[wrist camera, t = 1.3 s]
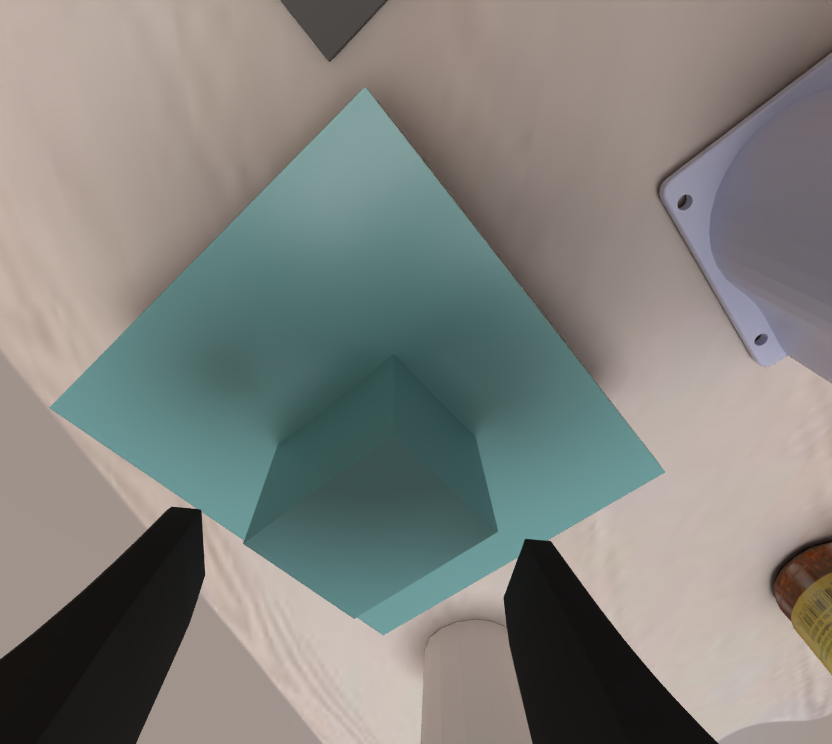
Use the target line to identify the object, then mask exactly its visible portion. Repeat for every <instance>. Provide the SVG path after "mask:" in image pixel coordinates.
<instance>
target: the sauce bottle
mask: <svg viewBox="0 0 832 744" xmlns="http://www.w3.org/2000/svg"><path fill="white" fill-rule="evenodd" d="M773 587H774V596H775V598H776V601H777V603H778V606H779V607H780V609H781V610H782V612H783V613H784V614H785V615H786V616H787V617H788V618H789V620H790V621H791V622H792V624H793V627H794V629H795V630H796V632H797V633H798V634H799V635H800V637H801V638H802V639H803V640H804V641H805V643H806V644H807V645H808V646H809V647H810V649H811V650H812V651H813V652H814V654H815V655H816V656H817V657H818V659H819V660H820V661H821V662H822V663H823V665H824V666H825V667H826V668H827V670H828V671H829V672H830V673H831V674H832V542H830V543H827V544H821V545H817V546H814V547H811V548H809V549H807V550H806V551H804V552H802V553H801V554H799V555H797V556H795V557H794V559H793V560H791V561H790V562H789V563H788V564H786V565H785V566H784V567H783V568H782V570H781V571H780V573H779V575H778V576H777V578H776V581H775V583H774V585H773Z"/></svg>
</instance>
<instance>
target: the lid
mask: <svg viewBox="0 0 832 744" xmlns="http://www.w3.org/2000/svg"><path fill="white" fill-rule="evenodd" d="M50 409H52V410H53V411H54V412H56V413H57V414H59V415H60V416H62V417H63V418H65V419H66V420H68V421H69V422H71V423H72V424H74V425H75V426H77V427H78V428H79V429H81V430H82V431H84V432H85V433H87V434H88V435H90V436H91V437H93V438H94V439H96V440H97V441H99V442H100V443H101V444H103V445H104V446H106V447H107V448H109V449H110V450H112V451H113V452H115V453H116V454H118V455H119V456H121V457H122V458H124V459H125V460H126V461H128V462H129V463H131V464H132V465H134V466H135V467H137V468H138V469H140V470H141V471H143V472H144V473H146V474H147V475H149V476H150V477H151V478H153V479H154V480H156V481H157V482H159V483H160V484H162V485H163V486H165V487H166V488H168V489H169V490H171V491H172V492H173V493H175V494H176V495H178V496H179V497H181V498H182V499H184V500H185V501H187V502H188V503H190V504H191V505H193V506H194V507H196V508H197V509H201V512H203V513H204V514H206V515H207V516H209V517H210V518H212V519H213V520H215V521H216V522H218V523H219V524H220V525H222V526H223V527H225V528H226V529H228V530H229V531H231V532H232V533H234V534H235V535H237V536H238V537H240V538H241V539H243V540H244V543H243V544H244V545H246V546H247V547H249V548H250V549H252V550H253V551H255V552H256V553H258V554H259V555H261V556H262V557H264V558H265V559H267V560H268V561H270V562H271V563H273V564H274V565H275V566H277V567H278V568H280V569H281V570H283V571H284V572H286V573H287V574H289V575H290V576H292V577H293V578H295V579H296V580H298V581H299V582H301V583H302V584H304V585H305V586H306V587H308V588H309V589H311V590H312V591H314V592H315V593H317V594H318V595H320V596H321V597H323V598H324V599H326V600H327V601H329V602H330V603H332V604H333V605H335V606H336V607H338V608H339V609H340V610H342V611H343V612H345V613H346V614H348V615H349V616H351V617H352V618H354V619H355V618H356V617H357V618H359V619H360V620H362V621H363V622H364V623H366V624H367V625H369V626H370V627H372V628H373V629H375V630H376V631H378V632H379V633H381V634H382V635H385V634H386V633H388V632H390V631H392V630H393V629H395V628H397V627H398V626H400V625H402V624H404V623H405V622H407V621H409V620H411V619H412V618H414V617H416V616H417V615H419V614H421V613H423V612H424V611H426V610H428V609H430V608H431V607H433V606H435V605H436V604H438V603H440V602H442V601H443V600H445V599H447V598H449V597H450V596H452V595H454V594H455V593H457V592H459V591H461V590H462V589H464V588H466V587H468V586H469V585H471V584H473V583H474V582H476V581H478V580H480V579H481V578H483V577H485V576H487V575H488V574H490V573H492V572H493V571H495V570H497V569H499V568H500V567H502V566H504V565H506V564H507V563H509V562H511V561H512V560H514V559H516V558H518V557H519V554H520V551H521V549H522V546H523V543H524V540H525V539H534V540H545V541H547V540H549V539H551V538H552V537H554V536H556V535H557V534H559V533H561V532H563V531H564V530H566V529H568V528H570V527H571V526H573V525H575V524H576V523H578V522H580V521H582V520H583V519H585V518H587V517H589V516H590V515H592V514H594V513H595V512H597V511H599V510H601V509H602V508H604V507H606V506H608V505H609V504H611V503H613V502H614V501H616V500H618V499H620V498H621V497H623V496H625V495H627V494H628V493H630V492H632V491H633V490H635V489H637V488H639V487H640V486H642V485H644V484H646V483H647V482H649V481H651V480H652V479H654V478H656V477H658V476H659V475H661V474H663V473H665V471H664V470H663V468H662V467H661V466H660V464H659V463H658V462H657V460H656V459H655V458H654V456H653V455H652V454H651V452H650V451H649V450H648V449H647V447H646V446H645V445H644V443H643V442H642V441H641V440H640V438H639V437H638V436H637V434H636V433H635V432H634V431H633V429H632V428H631V427H630V425H629V424H628V423H627V422H626V420H625V419H624V418H623V416H622V415H621V414H620V413H619V411H618V410H617V409H616V407H615V406H614V405H613V404H612V402H611V401H610V400H609V398H608V397H607V396H606V395H605V393H604V392H603V391H602V389H601V388H600V387H599V386H598V384H597V383H596V382H595V380H594V379H593V378H592V377H591V375H590V374H589V373H588V371H587V370H586V369H585V367H584V366H583V365H582V364H581V362H580V361H579V360H578V358H577V357H576V356H575V355H574V353H573V352H572V351H571V349H570V348H569V347H568V346H567V344H566V343H565V342H564V340H563V339H562V338H561V337H560V335H559V334H558V333H557V331H556V330H555V329H554V328H553V326H552V325H551V324H550V322H549V321H548V320H547V319H546V317H545V316H544V315H543V313H542V312H541V311H540V310H539V308H538V307H537V306H536V304H535V303H534V302H533V301H532V299H531V298H530V297H529V295H528V294H527V293H526V292H525V290H524V289H523V288H522V286H521V285H520V284H519V283H518V281H517V280H516V279H515V277H514V276H513V275H512V274H511V272H510V271H509V270H508V268H507V267H506V266H505V265H504V263H503V262H502V261H501V259H500V258H499V257H498V256H497V254H496V253H495V252H494V250H493V249H492V248H491V247H490V245H489V244H488V243H487V241H486V240H485V239H484V238H483V236H482V235H481V234H480V232H479V231H478V230H477V229H476V227H475V226H474V225H473V223H472V222H471V221H470V220H469V218H468V217H467V216H466V214H465V213H464V212H463V211H462V209H461V208H460V207H459V205H458V204H457V203H456V202H455V200H454V199H453V198H452V196H451V195H450V194H449V193H448V191H447V190H446V189H445V187H444V186H443V185H442V184H441V182H440V181H439V180H438V178H437V177H436V176H435V175H434V173H433V172H432V171H431V169H430V168H429V167H428V166H427V164H426V163H425V162H424V160H423V159H422V158H421V157H420V155H419V154H418V153H417V151H416V150H415V149H414V148H413V146H412V145H411V144H410V142H409V141H408V140H407V139H406V137H405V136H404V135H403V133H402V132H401V131H400V130H399V128H398V127H397V126H396V124H395V123H394V122H393V121H392V119H391V118H390V117H389V115H388V114H387V113H386V112H385V110H384V109H383V108H382V106H381V105H380V104H379V103H378V101H377V100H376V99H375V97H374V96H373V95H372V94H371V92H370V91H369V90H368V88H367V87H364V88H363V89H362V90H361V91H360V92H359V93H358V94H357V95H356V96H355V98H354V99H353V100H352V101H351V102H350V103H349V104H348V105H347V106H346V107H345V108H344V109H343V110H342V111H341V112H340V113H339V114H338V115H337V116H336V117H335V118H334V119H333V120H332V121H331V122H330V123H329V124H328V125H327V126H326V127H325V128H324V129H323V130H322V131H321V132H320V133H319V134H318V135H317V136H316V137H315V138H314V139H313V140H312V141H311V142H310V143H309V144H308V145H307V146H306V147H305V148H304V149H303V150H302V151H301V152H300V153H299V154H298V155H297V156H296V158H295V159H294V160H293V161H292V162H291V163H290V164H289V165H288V166H287V167H286V168H285V169H284V170H283V171H282V172H281V173H280V174H279V175H278V176H277V177H276V178H275V179H274V180H273V181H272V182H271V183H270V184H269V185H268V186H267V187H266V188H265V189H264V190H263V191H262V192H261V193H260V194H259V195H258V196H257V197H256V198H255V199H254V200H253V201H252V202H251V203H250V204H249V205H248V206H247V207H246V208H245V209H244V210H243V211H242V212H241V213H240V214H239V215H238V217H237V218H236V219H235V220H234V221H233V222H232V223H231V224H230V225H229V226H228V227H227V228H226V229H225V230H224V231H223V232H222V233H221V234H220V235H219V236H218V237H217V238H216V239H215V240H214V241H213V242H212V243H211V244H210V245H209V246H208V247H207V248H206V249H205V250H204V251H203V252H202V253H201V254H200V255H199V256H198V257H197V258H196V259H195V260H194V261H193V262H192V263H191V264H190V265H189V266H188V267H187V268H186V269H185V270H184V271H183V272H182V273H181V274H180V275H179V277H178V278H177V279H176V280H175V281H174V282H173V283H172V284H171V285H170V286H169V287H168V288H167V289H166V290H165V291H164V292H163V293H162V294H161V295H160V296H159V297H158V298H157V299H156V300H155V301H154V302H153V303H152V304H151V305H150V306H149V307H148V308H147V309H146V310H145V311H144V312H143V313H142V314H141V315H140V316H139V317H138V318H137V319H136V320H135V321H134V322H133V323H132V324H131V325H130V326H129V327H128V328H127V329H126V330H125V331H124V332H123V333H122V334H121V336H120V337H119V338H118V339H117V340H116V341H115V342H114V343H113V344H112V345H111V346H110V347H109V348H108V349H107V350H106V351H105V352H104V353H103V354H102V355H101V356H100V357H99V358H98V359H97V360H96V361H95V362H94V363H93V364H92V365H91V366H90V367H89V368H88V369H87V370H86V371H85V372H84V373H83V374H82V375H81V376H80V377H79V378H78V379H77V380H76V381H75V382H74V383H73V384H72V385H71V386H70V387H69V388H68V389H67V390H66V391H65V392H64V393H63V394H62V396H61V397H60V398H59V399H58V400H57V401H56V402H55V403H54V404H53V405H52V406H51V407H50Z"/></svg>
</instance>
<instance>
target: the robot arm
mask: <svg viewBox="0 0 832 744" xmlns="http://www.w3.org/2000/svg"><path fill="white" fill-rule="evenodd" d="M659 195H660V198H661V200H662V202H663V204H664V206H665V207H666V209H667V211H668V213H669V214H670V216H671V218H672V219H673V221H674V223H675V225H676V226H677V228H678V230H679V232H680V233H681V235H682V237H683V239H684V240H685V242H686V244H687V246H688V247H689V249H690V251H691V252H692V254H693V256H694V258H695V259H696V261H697V263H698V265H699V266H700V268H701V270H702V272H703V273H704V275H705V277H706V278H707V280H708V282H709V284H710V285H711V287H712V289H713V291H714V292H715V294H716V296H717V298H718V299H719V301H720V303H721V305H722V306H723V308H724V310H725V311H726V313H727V315H728V317H729V318H730V320H731V322H732V324H733V325H734V327H735V329H736V331H737V332H738V334H739V336H740V338H741V339H742V341H743V343H744V344H745V346H746V348H747V350H748V351H749V353H750V355H751V357H752V358H753V360H754V361H755V362H756V363H758V364H759V365H760V366H764V367H766V366H771V365H773V364H775V363H777V362H778V361H780V360H782V359H783V358H785V357H787V356H790V357H791V358H793V359H794V360H796V361H798V362H799V363H801V364H802V365H804V366H805V367H807V368H808V369H810V370H812V371H813V372H815V373H816V374H818V375H819V376H821V377H823V378H824V379H826V380H827V381H829V382H830V383H832V52H831V53H830V54H829V55H828V56H826V57H825V58H824V59H822V60H821V61H820V62H818V63H817V64H816V65H814V66H813V67H812V68H811V69H809V70H808V71H807V72H805V73H804V74H803V75H801V76H800V77H799V78H797V79H796V80H795V81H794V82H792V83H791V84H790V85H788V86H787V87H786V88H784V89H783V90H782V91H780V92H779V93H778V94H777V95H775V96H774V97H773V98H771V99H770V100H769V101H767V102H766V103H765V104H763V105H762V106H761V107H759V108H758V109H757V110H756V111H754V112H753V113H752V114H750V115H749V116H748V117H746V118H745V119H744V120H742V121H741V122H740V123H739V124H737V125H736V126H735V127H733V128H732V129H731V130H729V131H728V132H727V133H725V134H724V135H723V136H722V137H720V138H719V139H718V140H716V141H715V142H714V143H712V144H711V145H710V146H708V147H707V148H706V149H705V150H703V151H702V152H701V153H699V154H698V155H697V156H695V157H694V158H693V159H691V160H690V161H689V162H688V163H686V164H685V165H684V166H682V167H681V168H680V169H678V170H677V171H676V172H674V173H673V174H672V175H671V176H669V177H668V178H667V179H666V180H665V181H664V182H663V183H662V185H661V187H660V193H659ZM684 195H686V197H687V200H686V203H685V204H684V206H683V207H680V208H678V206H677V203H678V200H679V199H680V198H681V196H684ZM760 334H762V335H761V337H760V338H759V339H758V340H757V341H755V338H756V337H757V336H758V335H760ZM204 577H205V565H204V548H203V530H202V513H201V509H191V508H180V507H171V508H169V509H168V510H167V511H166V512H165V513H164V514H163V515H162V516H161V517H160V518H159V519H158V520H157V521H156V522H155V523H154V524H153V525H152V526H151V527H150V528H149V529H148V530H147V531H146V532H145V533H144V534H143V535H142V536H141V537H140V538H139V539H138V540H137V541H136V542H135V543H134V544H132V546H130V547H129V548H128V549H127V550H126V551H125V552H124V553H123V554H122V555H121V556H120V557H119V558H118V559H117V560H116V561H115V562H114V563H113V564H112V565H110V566H109V567H108V568H107V569H106V570H105V571H104V572H103V573H102V574H101V575H100V576H99V577H98V578H96V579H95V580H94V581H93V582H92V583H91V584H90V585H89V586H88V587H87V588H86V589H84V590H83V591H82V592H81V593H80V594H79V595H78V596H76V597H75V598H74V599H73V600H72V601H71V602H70V603H68V604H67V605H66V606H65V607H64V608H62V610H60V611H59V612H58V613H57V614H55V615H54V616H53V617H52V618H51V619H50V620H48V621H47V622H46V623H45V624H44V625H42V626H41V627H40V628H39V629H38V630H37V631H35V632H34V633H33V634H32V635H30V636H29V637H28V638H27V639H26V640H24V641H23V642H22V643H21V644H19V645H18V646H17V647H15V648H14V649H13V650H12V651H10V652H9V653H8V654H7V655H5V656H4V657H3V658H1V659H0V744H136V742H137V740H138V738H139V735H140V733H141V731H142V729H143V726H144V724H145V722H146V720H147V718H148V715H149V713H150V711H151V709H152V706H153V704H154V702H155V699H156V698H157V695H158V693H159V691H160V689H161V686H162V684H163V682H164V680H165V677H166V675H167V673H168V671H169V669H170V666H171V664H172V662H173V660H174V657H175V655H176V653H177V651H178V648H179V646H180V644H181V641H182V639H183V637H184V635H185V632H186V630H187V628H188V625H189V623H190V620H191V617H192V614H193V611H194V608H195V605H196V602H197V599H198V596H199V593H200V590H201V586H202V583H203V580H204ZM504 606H505V615H506V624H507V632H508V639H509V646H510V650H511V655H512V659H513V664H514V668H515V672H516V677H517V681H518V685H519V689H520V694H521V698H522V702H523V706H524V710H525V714H526V719H527V723H528V727H529V731H530V735H531V740H532V744H718V743H717V742H716V741H715V740H714V739H713V738H712V737H711V736H710V735H709V734H708V733H707V732H706V731H705V730H704V729H703V728H702V727H701V726H700V725H699V723H698V722H697V721H696V720H695V719H694V718H693V717H692V716H691V715H690V714H689V713H688V712H687V711H686V710H685V709H684V708H683V707H682V706H681V704H680V703H679V702H678V701H677V700H676V699H675V698H674V697H673V696H672V695H671V694H670V693H669V692H668V691H667V689H666V688H665V687H664V686H663V685H662V684H661V683H660V682H659V680H658V679H657V678H656V677H655V676H654V675H653V674H652V672H651V671H650V670H649V669H648V668H647V666H646V665H645V664H644V663H643V662H642V661H641V659H640V658H639V657H638V656H637V655H636V653H635V652H634V651H633V650H632V649H631V647H630V646H629V645H628V644H627V642H626V641H625V640H624V639H623V638H622V636H621V635H620V634H619V632H618V631H617V630H616V629H615V627H614V626H613V625H612V623H611V622H610V621H609V619H608V618H607V617H606V616H605V614H604V613H603V612H602V610H601V609H600V608H599V606H598V605H597V604H596V602H595V601H594V600H593V598H592V597H591V596H590V594H589V593H588V592H587V590H586V589H585V588H584V586H583V585H582V583H581V582H580V581H579V579H578V578H577V577H576V575H575V574H574V572H573V571H572V570H571V568H570V567H569V566H568V564H567V563H566V561H565V560H564V559H563V557H562V556H561V554H560V553H559V552H558V550H557V549H556V548H555V546H554V545H553V544H552V542H551V541H545V540H534V539H525V540H524V543H523V546H522V549H521V551H520V554H519V557H518V560H517V562H516V565H515V568H514V571H513V573H512V576H511V579H510V582H509V584H508V587H507V590H506V593H505V595H504Z"/></svg>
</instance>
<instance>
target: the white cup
mask: <svg viewBox="0 0 832 744" xmlns="http://www.w3.org/2000/svg"><path fill="white" fill-rule="evenodd" d="M421 744H532V740H531V735H530V731H529V727H528V723H527V719H526V714H525V710H524V706H523V702H522V698H521V694H520V689H519V685H518V681H517V677H516V672H515V668H514V664H513V659H512V655H511V650H510V646H509V639H508V632H507V628H506V627H504V626H502V625H499V624H497V623H495V622H493V621H484V620H476V619H474V620H467V621H460V622H455V623H452V624H450V625H448V626H445V627H443V628H441V629H439V630H438V631H437V632H436V633H435V634H434V635H432V636H431V637H430V638H429V639H428V642H427V645H426V647H425V651H424V675H423V700H422V724H421Z"/></svg>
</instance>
